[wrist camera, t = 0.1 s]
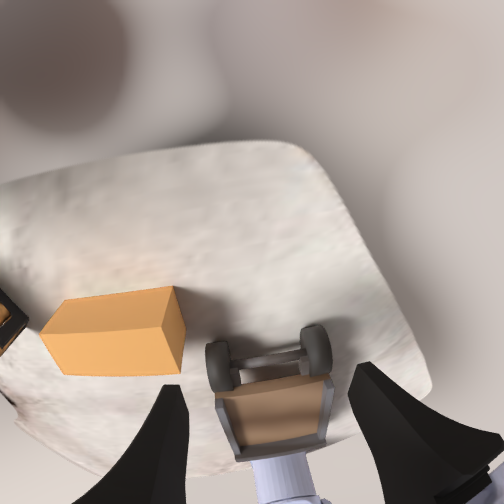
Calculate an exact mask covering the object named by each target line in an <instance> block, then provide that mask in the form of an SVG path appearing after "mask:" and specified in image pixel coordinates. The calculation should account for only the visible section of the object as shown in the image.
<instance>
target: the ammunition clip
mask: <svg viewBox="0 0 504 504" xmlns="http://www.w3.org/2000/svg"><path fill="white" fill-rule="evenodd" d="M28 320H29V317H28V316H27V315H26V314H25V313H24V312H23V311H22V310H21V309H20V308H19V307H18V306H17V305H16V304H15V303H14V302H13V301H12V300H11V299H10V298H9V297H8V296H7V295H6V294H5V293H4V292H3V291H2V290H1V288H0V357H1V356H2V355H3V353H4V352H5V351H6V350H7V348H8V347H9V346H10V345H11V344H12V343H13V341H14V340H15V339H16V338H17V337H18V336H19V335H20V333H21V332H22V331H23V330H24V329H25V328H26V325H27V323H28ZM5 321H6V322H5ZM4 322H5V323H4ZM3 323H4V324H3Z"/></svg>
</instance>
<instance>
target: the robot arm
mask: <svg viewBox="0 0 504 504" xmlns="http://www.w3.org/2000/svg"><path fill="white" fill-rule="evenodd" d="M348 397H349V401H350V404H351V407H352V410H353V413H354V416H355V418H356V420H357V422H358V424H359V426H360V429H361V431H362V433H363V435H364V437H365V439H366V441H367V443H368V446H369V448H370V450H371V452H372V455H373V457H374V460H375V464H376V467H377V470H378V474H379V477H380V481H381V485H382V489H383V494H384V500H385V504H504V462H503V463H502V464H500V465H499V466H498V467H497V468H496V469H495V470H493V472H491V473H490V474H488V473H487V472H488V471H489V470H490V467H489V466H488V464H489V463H490V462H491V461H493V460H494V459H495V458H496V457H497V456H498V455H499V454H500V453H501V452H503V451H504V440H503V439H502V437H501V436H500V435H499V434H497V433H492V432H488V431H482V430H479V429H475V428H472V427H469V426H466V425H463V424H461V423H458V422H456V421H454V420H451V419H449V418H447V417H445V416H443V415H441V414H439V413H438V412H436V411H434V410H432V409H431V408H429V407H427V406H426V405H424V404H423V403H421V402H420V401H419V400H417V399H416V398H414V397H413V396H411V395H410V394H409V393H407V392H406V391H405V390H404V389H402V388H401V387H400V386H399V385H397V384H396V383H395V382H394V381H392V380H391V379H390V378H389V377H388V376H386V375H385V374H384V373H383V372H382V371H381V370H379V369H378V368H377V367H376V366H375V365H374V364H372V363H371V362H370V361H369V362H365V363H360V364H357V366H356V370H355V373H354V376H353V379H352V382H351V385H350V388H349V391H348ZM188 444H189V411H188V409H187V406H186V403H185V400H184V397H183V394H182V391H181V388H180V385H163V386H162V388H161V391H160V393H159V395H158V397H157V399H156V401H155V403H154V405H153V407H152V409H151V411H150V413H149V415H148V416H147V418H146V420H145V422H144V423H143V425H142V427H141V429H140V430H139V432H138V433H137V435H136V436H135V438H134V440H133V441H132V443H131V444H130V446H129V447H128V448H127V450H126V451H125V453H124V454H123V455H122V456H121V458H120V459H119V460H118V461H117V463H116V464H115V465H114V466H113V467H112V468H111V470H110V471H109V472H108V473H107V474H106V475H105V476H104V477H103V478H102V479H101V480H100V481H99V482H98V483H97V484H96V485H95V486H93V487H92V488H91V489H90V490H89V491H88V492H87V493H86V494H85V495H83V496H82V497H80V498H79V499H77V500H76V501H75V502H73V503H72V504H186V493H185V477H186V465H187V454H188ZM250 463H251V466H252V468H253V470H254V477H255V484H256V491H257V497H258V504H332V503H331V502H330V501H328V500H326V499H320V497H319V495H316V492H315V488H314V484H313V481H312V477H311V473H310V470H309V466H308V462H307V459H306V451H305V452H300V453H296V454H291V455H285V456H280V457H274V458H268V459H261V460H254V461H250Z"/></svg>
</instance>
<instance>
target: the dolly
mask: <svg viewBox="0 0 504 504" xmlns="http://www.w3.org/2000/svg"><path fill="white" fill-rule="evenodd" d="M300 344H301V349H299V350H294V351H289V352H284V353H278V354H272V355H266V356H260V357H254V358H247V359H240V360H233V361H231V357H230V352H229V348H228V344H227V342H226V341H223V342H215V343H207V344H206V347H205V359H206V368H207V374H208V379H209V383H210V386H211V389H212V391H213V392H214V393H215V410H216V412H217V415H218V417H219V420H220V422H221V424H222V427H223V429H224V432H225V434H226V436H227V439H228V441H229V443H230V446H231V448H232V450H233V452H234V455H235V460H236V462H245V461H254V460H261V459H268V458H274V457H280V456H285V455H291V454H296V453H300V452H305V451H309V450H313V449H317V448H321V447H325V446H326V440H325V437H326V432H327V427H328V422H329V417H330V412H331V407H332V401H333V395H334V389H335V387H334V385H333V383H332V380H331V378H330V376H329V373H330V372H331V370H332V364H333V359H332V350H331V345H330V341H329V338H328V335H327V332H326V330H325V328H324V327H323V326H322V325H318V326H313V327H308V328H303V329H301V331H300ZM295 360H299V371H300V374H299V375H294V376H289V377H283V378H278V379H272V380H266V381H260V382H254V383H247V384H241V378H240V373H239V370H241V369H248V368H255V367H261V366H267V365H273V364H279V363H284V362H289V361H295Z"/></svg>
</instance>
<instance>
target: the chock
mask: <svg viewBox="0 0 504 504" xmlns="http://www.w3.org/2000/svg"><path fill="white" fill-rule="evenodd" d="M185 335H186V327H185V324H184V321H183V318H182V314H181V311H180V308H179V305H178V302H177V298H176V295H175V291H174V288H173V286H167V287H160V288H153V289H146V290H139V291H131V292H124V293H116V294H109V295H101V296H93V297H85V298H77V299H68V300H65V301H64V302H63V303H62V304H61V306H60V307H59V308H58V309H57V311H56V312H55V313H54V314H53V316H52V317H51V318H50V320H49V321H48V322H47V324H46V325H45V326H44V328H43V329H42V330H41V332H40V333H39V336H40V338H41V339H42V341H43V343H44V344H45V346H46V348H47V349H48V351H49V353H50V354H51V356H52V358H53V359H54V361H55V362H56V364H57V365H58V367H59V368H60V370H61V371H62V373H63V374H64V375H78V376H153V375H171V374H180V373H181V365H182V357H183V349H184V342H185Z"/></svg>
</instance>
